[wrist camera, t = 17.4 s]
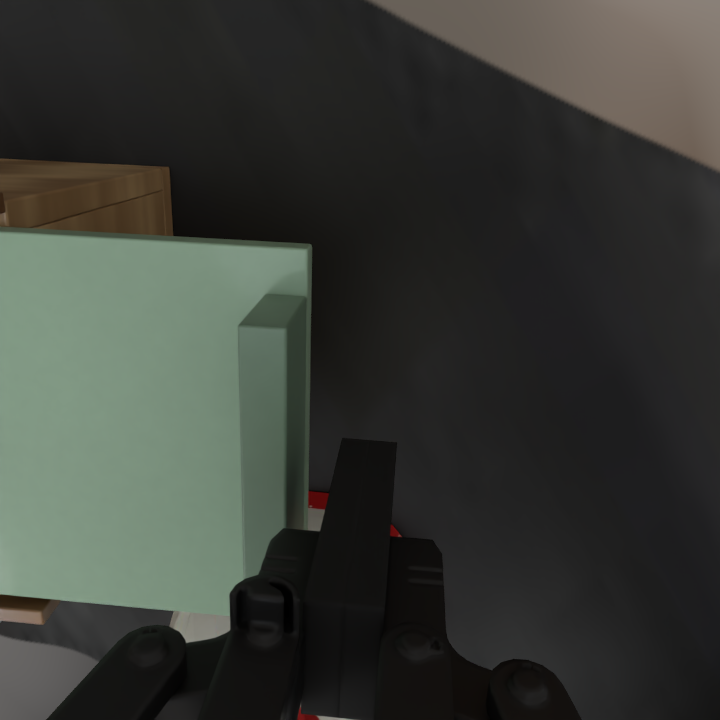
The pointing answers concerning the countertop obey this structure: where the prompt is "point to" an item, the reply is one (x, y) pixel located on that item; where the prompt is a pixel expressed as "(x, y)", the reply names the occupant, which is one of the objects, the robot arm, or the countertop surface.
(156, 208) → the case
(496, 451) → the countertop surface
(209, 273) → the lid
